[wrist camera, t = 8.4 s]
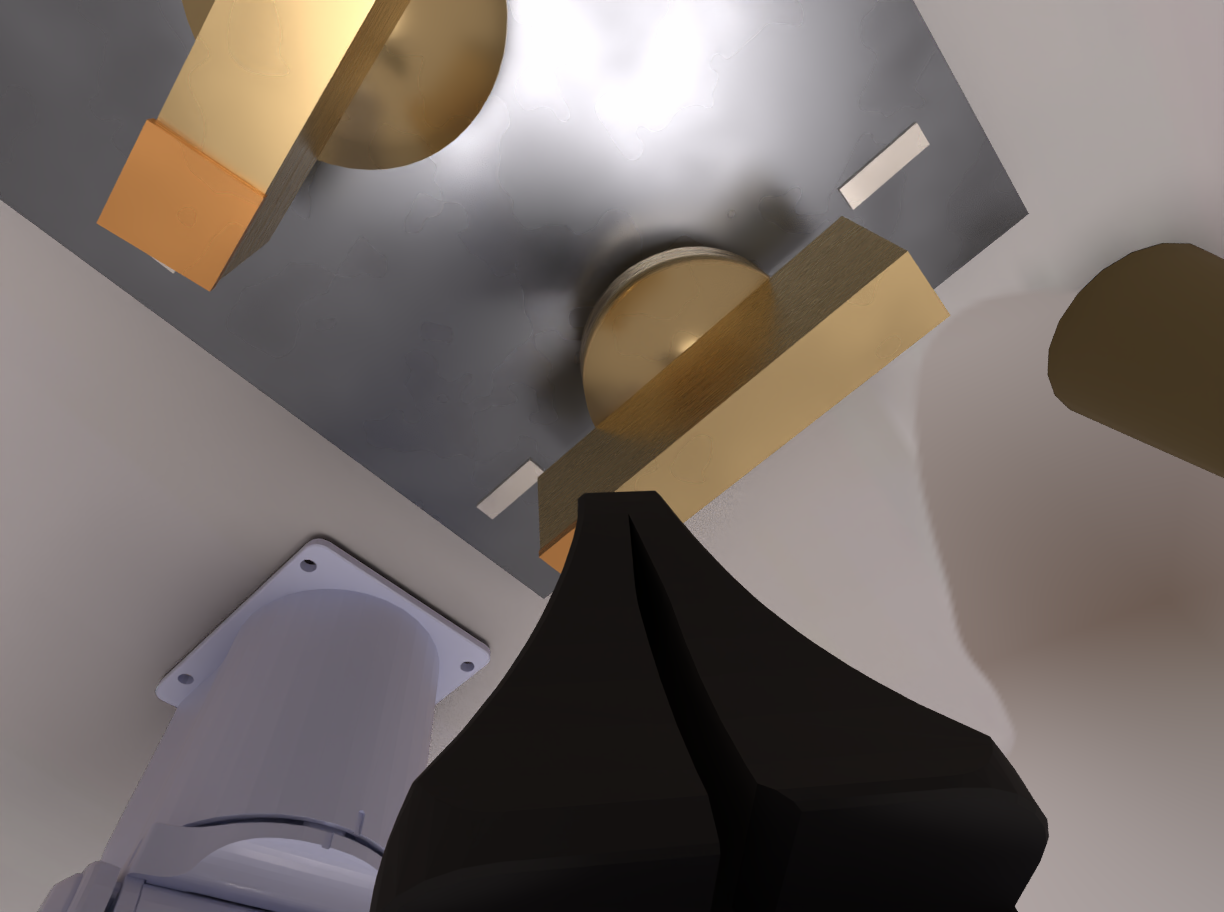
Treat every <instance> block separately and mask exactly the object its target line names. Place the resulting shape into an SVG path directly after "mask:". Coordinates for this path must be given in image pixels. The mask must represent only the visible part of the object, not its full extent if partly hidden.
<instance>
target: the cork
mask: <svg viewBox="0 0 1224 912" xmlns="http://www.w3.org/2000/svg"><path fill="white" fill-rule="evenodd" d="M1048 377H1049V380H1050V383H1051V386H1052V388H1053V391H1054V394H1055V396H1056V397H1057V398H1058V399H1059V400H1060V401H1061V402H1063V404H1064V405H1065V406H1067V407H1068V408H1069V409H1070V410H1072V411H1074V412H1076V413H1079V414H1081V415H1083V416H1085V417H1087V418H1090V419H1092V420H1094V421H1097V422H1099V423H1101V424H1103V425H1106V426H1108V427H1110V428H1112V429H1114V430H1117V431H1119V432H1121V433H1123V434H1126V435H1128V436H1130V437H1133V438H1135V439H1137V440H1139V441H1142V442H1144V443H1146V444H1148V445H1151V446H1153V447H1155V448H1158V449H1159V450H1162V451H1164V452H1166V453H1169V454H1171V455H1173V456H1175V457H1178V458H1180V459H1182V460H1184V461H1187V462H1189V463H1191V464H1193V465H1196V466H1198V467H1200V468H1202V469H1205V470H1207V471H1209V472H1211V473H1214V474H1216V475H1218V476H1221V477H1223V478H1224V259H1222V258H1220V257H1218V256H1216V255H1214V254H1212V253H1210V252H1208V251H1205V250H1203V249H1201V248H1199V247H1197V246H1194V245H1192V244H1179V243H1162V244H1159V245H1155V246H1152V247H1149V248H1145V249H1142V250H1139V251H1136V252H1132V253H1131V254H1129V255H1127V256H1126V257H1124V258H1122V259H1121V260H1119V261H1117V262H1116V263H1114V264H1112V265H1111V266H1109V267H1107V268H1106V269H1104V270H1102V271H1101V272H1100V273H1099V274H1098V275H1097V276H1096V277H1095V278H1094V279H1093V280H1092V281H1091V282H1090V283H1089V284H1088V285H1087V286H1086V287H1085V288H1083V289H1082V290H1081V291H1080V292H1079V293H1078V294H1077V296H1076V297H1075V299H1074V300H1073V301H1072V303H1071V304H1070V306H1069V308H1068V309H1067V310H1066V312H1065V313H1064V315H1063V316H1062V318H1061V319H1060V321H1059V323H1058V325H1057V328H1056V331H1055V334H1054V336H1053V339H1052V342H1051V345H1050V348H1049V355H1048Z"/></svg>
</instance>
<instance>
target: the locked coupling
mask: <svg viewBox="0 0 1224 912" xmlns="http://www.w3.org/2000/svg"><path fill="white" fill-rule="evenodd" d="M949 316H950V314H949V313H948V311H947V310H946V308H945V307H944V305H943V304H942V302H941V301H940V299H939V297H938V296H937V294H936V293H935V291H934V290H933V288H932V287H931V285H930V284H929V282H928V281H927V279H926V278H925V276H924V275H923V273H922V272H921V270H920V269H919V267H918V266H917V264H916V263H915V261H914V260H913V258H912V257H911V255H910V254H909V252H908V251H907V250H905V249H903V248H901V247H899V246H897V245H896V244H894V243H892V242H890V241H888V240H886V239H884V238H883V237H881V236H879V235H877V234H875V233H873V232H871V231H869V230H868V229H866V228H864V227H862V226H860V225H858V224H856V223H854V222H853V221H851V220H849V219H847V218H845V217H843V216H841V217H840V218H839V219H837V220H836V221H835V222H834V223H833V224H832V225H830V226H829V227H828V228H827V229H826V230H825V231H823V232H822V233H821V234H820V235H819V236H818V237H816V238H815V239H814V240H813V241H812V242H811V243H810V244H808V245H807V246H806V247H805V248H804V249H803V250H801V251H800V252H799V253H798V254H797V255H796V256H794V257H793V258H792V259H791V260H790V261H789V262H787V263H786V264H785V265H784V266H783V267H782V268H780V269H779V270H778V271H777V272H776V273H775V274H773V275H772V276H771V277H770V276H769V275H768V274H766V273H765V272H764V271H763V270H762V269H760V268H759V267H758V266H757V265H755V264H754V263H752V262H751V261H749V260H747V259H746V258H744V257H742V256H739V255H737V254H734V253H732V252H729V251H726V250H721V249H717V248H710V247H683V248H677V249H671V250H667V251H664V252H661V253H658V254H655V255H653V256H650V257H648V258H646V259H644V260H642V261H640V262H638V263H637V264H635V265H634V266H632V267H630V268H629V269H627V270H626V271H625V272H624V273H622V274H621V275H620V276H619V277H618V278H616V279H615V280H614V281H613V282H612V283H611V285H610V286H609V287H608V288H607V289H606V290H605V291H604V292H603V294H602V295H601V297H600V298H599V299H598V301H597V302H596V304H595V306H594V308H593V309H592V311H591V313H590V315H589V317H588V320H587V323H586V325H585V328H584V331H583V336H582V340H581V347H580V371H581V376H582V382H583V387H584V393H585V398H586V404H587V408H588V411H589V414H590V417H591V420H592V422H593V424H594V426H595V428H594V429H593V430H592V431H591V432H590V433H589V434H587V435H586V436H585V437H584V438H583V439H582V440H580V441H579V442H578V443H577V444H576V445H575V446H574V447H572V448H571V449H570V450H569V451H568V452H567V453H565V454H564V455H563V456H562V457H561V458H560V459H558V460H557V461H556V462H555V463H554V464H553V465H551V466H550V467H549V468H548V469H547V470H546V471H544V472H543V473H542V474H541V475H540V476H539V477H537V480H538V506H539V532H540V550H539V558H541V559H542V560H543V561H545V562H546V563H547V564H549V565H550V566H551V567H552V568H554V569H555V570H556V571H558V572H559V573H560V574H561V572H562V570H563V567H564V564H565V561H566V558H567V555H568V552H569V549H570V546H571V543H572V540H573V536H574V532H575V528H576V523H577V517H578V498H579V497H580V496H581V495H583V494H584V493H597V492H626V491H656V492H657V493H658V494H660V495H661V497H662V498H663V499H664V500H665V502H666V503H667V504H668V505H669V507H670V508H671V509H672V510H673V512H674V513H675V514H676V515H677V516H678V518H679V519H680V520H681V521H682V523H684V522H685V521H686V520H688V519H689V518H690V517H692V516H693V515H694V514H695V513H697V512H698V511H699V510H701V509H702V508H703V507H704V506H706V505H707V504H708V503H710V502H711V501H712V500H713V499H715V498H716V497H717V496H719V495H720V494H721V493H722V492H724V491H725V490H726V489H728V488H729V487H730V486H731V485H733V484H734V483H735V482H737V481H738V480H739V479H740V478H742V477H743V476H744V475H746V474H747V473H748V472H749V471H751V470H752V469H753V468H755V467H756V466H757V465H759V464H760V463H761V462H762V461H764V460H765V459H766V458H768V457H769V456H770V455H771V454H773V453H774V452H775V451H777V450H778V449H779V448H780V447H782V446H783V445H784V444H786V443H787V442H788V441H789V440H791V439H792V438H793V437H795V436H796V435H797V434H798V433H800V432H801V431H802V430H804V429H805V428H806V427H807V426H809V425H810V424H811V423H813V422H814V421H815V420H816V419H818V418H819V417H820V416H822V415H823V414H824V413H825V412H827V411H828V410H829V409H831V408H832V407H833V406H834V405H836V404H837V403H838V402H840V401H841V400H842V399H843V398H845V397H846V396H847V395H849V394H850V393H851V392H852V391H854V390H855V389H856V388H858V387H859V386H860V385H861V384H863V383H864V382H865V381H867V380H868V379H869V378H870V377H872V376H873V375H874V374H876V373H877V372H878V371H879V370H881V369H882V368H883V367H885V366H886V365H887V364H888V363H890V362H891V361H892V360H894V359H895V358H896V357H897V356H899V355H900V354H901V353H903V352H904V351H905V350H906V349H908V348H909V347H910V346H912V345H913V344H914V343H915V342H917V341H918V340H919V339H921V338H922V337H923V336H924V335H926V334H927V333H928V332H930V331H931V330H932V329H933V328H935V327H936V326H937V325H939V324H940V323H941V322H942V321H944V320H945V319H946V318H948V317H949Z"/></svg>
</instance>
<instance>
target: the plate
mask: <svg viewBox="0 0 1224 912" xmlns="http://www.w3.org/2000/svg"><path fill="white" fill-rule="evenodd" d="M507 9H508V25H507V39H506V46H505V54H504V57H503V61H502V65H501V69H500V72H499V75H498V77H497V80H496V82H495V85H494V87H493V90H492V92H491V93H490V95H489V97H488V99H487V100H486V102H485V104H484V106H483V107H482V109H481V111H480V112H479V113H478V115H477V116H476V117H475V119H474V120H473V121H472V123H471V124H470V125H469V126H468V128H467V129H466V130H465V131H464V132H462V133H461V134H460V135H459V136H458V137H457V138H456V139H455V140H454V141H453V142H451V143H450V144H449V145H447V146H446V147H445V148H443V149H442V150H440V151H439V152H437V153H435V154H433V155H431V156H429V157H427V158H425V159H424V160H421V161H418V162H415V163H412V164H409V165H406V166H401V167H396V168H391V169H381V170H362V169H350V168H345V167H341V166H336V165H331V164H328V163H325V162H322V161H319V160H316V162H315V164H314V165H313V167H312V169H311V171H310V172H309V174H308V176H307V177H306V179H305V181H304V182H303V184H302V186H301V188H300V189H299V191H298V193H297V194H296V196H295V198H294V199H293V201H292V203H291V204H290V206H289V208H288V210H287V211H286V213H285V215H284V216H283V218H282V220H281V221H280V223H279V225H278V226H277V228H276V230H275V232H274V233H273V235H272V237H271V238H270V240H269V242H268V243H267V244H265V245H264V246H263V247H261V248H260V249H259V250H258V251H256V252H255V253H254V254H252V255H251V256H250V257H249V258H247V259H246V260H245V261H244V262H242V263H241V264H240V265H238V266H237V267H236V268H235V269H233V270H232V271H231V272H230V273H228V274H227V275H226V276H224V277H223V278H222V279H221V280H219V282H218V283H217V285H216V287H215V288H214V289H213V290H212V291H210V292H209V291H208V290H206V289H204V288H203V287H201V286H200V285H198V284H196V283H195V282H193V281H191V280H190V279H188V278H186V277H185V276H183V275H181V274H180V273H178V272H176V271H175V270H173V269H171V268H170V267H168V266H166V265H165V264H163V263H161V262H160V261H158V260H156V259H155V258H153V257H151V256H150V255H148V254H147V253H145V252H143V251H142V250H140V249H138V248H137V247H135V246H133V245H132V244H130V243H128V242H127V241H125V240H123V239H122V238H120V237H118V236H117V235H115V234H113V233H112V232H110V231H108V230H107V229H105V228H103V227H102V226H100V225H98V224H97V221H98V219H99V217H100V215H101V213H102V211H103V208H104V206H105V204H106V202H107V200H108V198H109V196H110V194H111V192H112V190H113V188H114V186H115V184H116V182H117V180H118V178H119V176H120V174H121V171H122V169H123V167H124V165H125V163H126V161H127V159H128V157H129V155H130V153H131V151H132V149H133V147H134V145H135V143H136V141H137V139H138V137H139V135H140V132H141V130H142V128H143V126H144V124H145V122H146V120H147V119H152V118H154V119H156V120H157V118H158V116H159V114H160V112H161V110H162V108H163V106H164V104H165V102H166V100H167V98H168V96H169V94H170V91H171V89H172V87H173V85H174V83H175V81H176V79H177V77H178V75H179V73H180V71H181V69H182V67H183V65H184V63H185V61H186V59H187V57H188V55H189V53H190V51H191V49H192V47H193V45H194V43H195V41H196V40H195V38H194V35H193V33H192V30H191V28H190V25H189V23H188V20H187V17H186V14H185V10H184V7H183V3H182V0H0V200H2V201H3V202H4V203H6V204H7V205H9V206H10V207H11V208H13V209H14V210H15V211H17V212H18V213H19V214H21V215H22V216H24V217H25V218H26V219H28V220H29V221H30V222H32V223H33V224H34V225H36V226H37V227H39V228H40V229H41V230H43V231H44V232H45V233H47V234H48V235H49V236H51V237H52V238H53V239H55V240H56V241H58V242H59V243H60V244H62V245H63V246H64V247H66V248H67V249H68V250H70V251H71V252H73V253H74V254H75V255H77V256H78V257H79V258H81V259H82V260H83V261H85V262H86V263H87V264H89V265H90V266H92V267H93V268H94V269H96V270H97V271H98V272H100V273H101V274H102V275H104V276H105V277H107V278H108V279H109V280H111V281H112V282H113V283H115V284H116V285H117V286H119V287H120V288H122V289H123V290H124V291H126V292H127V293H128V294H130V295H131V296H132V297H134V298H135V299H136V300H138V301H139V302H141V303H142V304H143V305H145V306H146V307H147V308H149V309H150V310H151V311H153V312H154V313H156V314H157V315H158V316H160V317H161V318H162V319H164V320H165V321H166V322H168V323H169V324H171V325H172V326H173V327H175V328H176V329H177V330H179V331H180V332H181V333H183V334H184V335H185V336H187V337H188V338H190V339H191V340H192V341H194V342H195V343H196V344H198V345H199V346H200V347H202V348H203V349H205V350H206V351H207V352H209V353H210V354H211V355H213V356H214V357H215V358H217V359H218V360H220V361H221V362H222V363H224V364H225V365H226V366H228V367H229V368H230V369H232V370H233V371H234V372H236V373H237V374H239V375H240V376H241V377H243V378H244V379H245V380H247V381H248V382H249V383H251V384H252V385H254V386H255V387H256V388H258V389H259V390H260V391H262V392H263V393H264V394H266V395H267V396H269V397H270V398H271V399H273V400H274V401H275V402H277V403H278V404H279V405H281V406H282V407H283V408H285V409H286V410H288V411H289V412H290V413H292V414H293V415H294V416H296V417H297V418H298V419H300V420H301V421H303V422H304V423H305V424H307V425H308V426H309V427H311V428H312V429H313V430H315V431H316V432H318V433H319V434H320V435H322V436H323V437H324V438H326V439H327V440H328V441H330V442H331V443H332V444H334V445H335V446H337V447H338V448H339V449H341V450H342V451H343V452H345V453H346V454H347V455H349V456H350V457H352V458H353V459H354V460H356V461H357V462H358V463H360V464H361V465H362V466H364V467H365V468H367V469H368V470H369V471H371V472H372V473H373V474H375V475H376V476H377V477H379V478H380V479H381V480H383V481H384V482H386V483H387V484H388V485H390V486H391V487H392V488H394V489H395V490H396V491H398V492H399V493H401V494H402V495H403V496H405V497H406V498H407V499H409V500H410V501H411V502H413V503H414V504H415V505H417V506H418V507H420V508H421V509H422V510H424V511H425V512H426V513H428V514H429V515H430V516H432V517H433V518H435V519H436V520H437V521H439V522H440V523H441V524H443V525H444V526H445V527H447V528H448V529H450V530H451V531H452V532H454V533H455V534H456V535H458V536H459V537H460V538H462V539H463V540H464V541H466V542H467V543H469V544H470V545H471V546H473V547H474V548H475V549H477V550H478V551H479V552H481V553H482V554H484V555H485V556H486V557H488V558H489V559H490V560H492V561H493V562H494V563H496V564H497V565H499V566H500V567H501V568H503V569H504V570H505V571H507V572H508V573H509V574H511V575H512V576H513V577H515V578H516V579H518V580H519V581H520V582H522V583H523V584H524V585H526V586H527V587H528V588H530V589H531V590H533V591H534V592H535V593H537V594H538V595H539V596H541V597H542V598H543V599H544V598H546V597H547V596H548V595H549V594H551V593H552V592H553V591H554V588H555V586H556V584H557V581H558V579H559V577H560V575H561V574H560V573H559V572H558V571H556V570H555V569H554V568H552V567H551V566H550V565H549V564H547V563H546V562H545V561H543V560H542V559H541V558H539V550H540V532H539V506H538V480H537V477H539V476H540V475H541V474H542V473H543V472H544V471H546V470H547V469H548V468H549V467H550V466H551V465H553V464H554V463H555V462H556V461H557V460H558V459H560V458H561V457H562V456H563V455H564V454H565V453H567V452H568V451H569V450H570V449H571V448H572V447H574V446H575V445H576V444H577V443H578V442H579V441H580V440H582V439H583V438H584V437H585V436H586V435H587V434H589V433H590V432H591V431H592V430H593V429H594V428H595V426H594V424H593V422H592V420H591V417H590V414H589V411H588V408H587V404H586V398H585V393H584V387H583V382H582V376H581V371H580V347H581V340H582V336H583V331H584V328H585V325H586V323H587V320H588V317H589V315H590V313H591V311H592V309H593V308H594V306H595V304H596V302H597V301H598V299H599V298H600V297H601V295H602V294H603V292H604V291H605V290H606V289H607V288H608V287H609V286H610V285H611V283H612V282H613V281H614V280H615V279H616V278H618V277H619V276H620V275H621V274H622V273H624V272H625V271H626V270H627V269H629V268H630V267H632V266H634V265H635V264H637V263H638V262H640V261H642V260H644V259H646V258H648V257H650V256H653V255H655V254H658V253H661V252H664V251H667V250H671V249H677V248H683V247H710V248H717V249H721V250H726V251H729V252H732V253H734V254H737V255H739V256H742V257H744V258H746V259H747V260H749V261H751V262H752V263H754V264H755V265H757V266H758V267H759V268H760V269H762V270H763V271H764V272H765V273H766V274H768V275H769V276H770V277H771V276H772V275H773V274H775V273H776V272H777V271H778V270H779V269H780V268H782V267H783V266H784V265H785V264H786V263H787V262H789V261H790V260H791V259H792V258H793V257H794V256H796V255H797V254H798V253H799V252H800V251H801V250H803V249H804V248H805V247H806V246H807V245H808V244H810V243H811V242H812V241H813V240H814V239H815V238H816V237H818V236H819V235H820V234H821V233H822V232H823V231H825V230H826V229H827V228H828V227H829V226H830V225H832V224H833V223H834V222H835V221H836V220H837V219H839V218H840V217H841V216H843V217H845V218H847V219H849V220H851V221H853V222H854V223H856V224H858V225H860V226H862V227H864V228H866V229H868V230H869V231H871V232H873V233H875V234H877V235H879V236H881V237H883V238H884V239H886V240H888V241H890V242H892V243H894V244H896V245H897V246H899V247H901V248H903V249H905V250H907V251H908V252H909V254H910V255H911V257H912V258H913V260H914V261H915V263H916V264H917V266H918V267H919V269H920V270H921V272H922V273H923V275H924V276H925V278H926V279H927V281H928V282H929V284H930V285H931V287H932V288H933V289H935V288H936V287H937V286H938V285H940V284H941V283H942V282H943V281H945V280H946V279H947V278H948V277H950V276H951V275H952V274H953V273H955V272H956V271H957V270H958V269H960V268H961V267H962V266H964V265H965V264H966V263H967V262H969V261H970V260H971V259H972V258H974V257H975V256H976V255H977V254H979V253H980V252H981V251H982V250H984V249H985V248H986V247H987V246H989V245H990V244H991V243H992V242H994V241H995V240H996V239H998V238H999V237H1000V236H1001V235H1003V234H1004V233H1005V232H1006V231H1008V230H1009V229H1010V228H1011V227H1013V226H1014V225H1015V224H1016V223H1018V222H1019V221H1020V220H1021V219H1023V218H1024V217H1025V216H1026V215H1028V214H1029V213H1028V211H1027V210H1026V208H1025V206H1024V204H1023V202H1022V200H1021V199H1020V197H1019V195H1018V193H1017V191H1016V189H1015V187H1014V186H1013V184H1012V182H1011V180H1010V178H1009V176H1008V175H1007V173H1006V171H1005V169H1004V167H1003V165H1002V164H1001V162H1000V160H999V158H998V156H997V154H996V152H995V151H994V149H993V147H992V145H991V143H990V141H989V140H988V138H987V136H986V134H985V132H984V130H983V128H982V127H981V125H980V123H979V121H978V119H977V117H976V116H975V114H974V112H973V110H972V108H971V106H970V104H969V103H968V101H967V99H966V97H965V95H964V93H963V92H962V90H961V88H960V86H959V84H958V82H957V80H956V79H955V77H954V75H953V73H952V71H951V69H950V68H949V66H948V64H947V62H946V60H945V58H944V56H943V55H942V53H941V51H940V49H939V47H938V45H937V44H936V42H935V40H934V38H933V36H932V34H931V32H930V31H929V29H928V27H927V25H926V23H925V21H924V20H923V18H922V16H921V14H920V12H919V10H918V9H917V7H916V5H915V3H914V1H913V0H507Z"/></svg>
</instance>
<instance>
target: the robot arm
mask: <svg viewBox="0 0 1224 912" xmlns="http://www.w3.org/2000/svg"><path fill="white" fill-rule="evenodd" d="M304 560H312V561H314V562H315V563H316V564H315V565H310V564H307V563H306V562H305V561H304ZM489 661H490V649H489V648H488V647H487V646H486V645H485V644H484V643H482V642H481V641H479V640H478V639H476V638H475V637H473V636H471V635H470V634H468V633H467V632H465V631H464V630H462V629H461V628H459V627H458V626H456V625H455V624H453V623H452V622H450V621H449V620H447V619H446V618H444V617H443V616H441V615H440V614H438V613H437V612H435V611H434V610H432V609H431V608H429V607H428V606H426V605H425V604H423V603H422V602H420V601H419V600H417V599H416V598H414V597H413V596H411V595H409V594H408V593H406V592H405V591H403V590H402V589H400V588H399V587H397V586H396V585H394V584H393V583H391V582H390V581H388V580H387V579H385V578H384V577H382V576H381V575H379V574H378V573H376V572H375V571H373V570H372V569H370V568H369V567H367V566H366V565H364V564H363V563H361V562H360V561H358V560H357V559H355V558H354V557H352V556H351V555H349V554H348V553H346V552H344V551H343V550H341V549H340V548H338V547H337V546H335V545H334V544H332V543H331V542H329V541H327V540H325V539H313V540H311V541H309V542H308V543H307V544H305V545H304V546H303V547H302V548H301V549H300V550H299V551H298V552H297V553H296V554H295V555H294V556H293V557H292V558H291V559H289V560H288V561H287V562H286V563H285V564H284V565H283V566H282V567H281V568H280V569H279V570H278V571H277V572H276V573H275V574H274V575H272V576H271V577H270V578H269V579H268V580H267V581H266V582H265V583H264V584H263V585H262V586H261V587H260V588H259V589H258V590H256V591H255V592H254V593H253V594H252V595H251V596H250V597H249V598H248V599H247V600H246V601H245V602H244V603H243V604H242V605H240V606H239V607H238V608H237V609H236V610H235V611H234V612H233V613H232V614H231V615H230V616H229V617H228V618H227V619H226V620H225V621H223V622H222V623H221V624H220V625H219V626H218V627H217V628H216V629H215V630H214V631H213V632H212V633H211V634H210V635H209V636H207V637H206V638H205V639H204V640H203V641H202V642H201V643H200V644H199V645H198V646H197V647H196V648H195V649H194V650H193V651H192V652H190V653H189V654H188V655H187V656H186V657H185V658H184V659H183V660H182V661H181V662H180V663H179V664H178V665H177V666H176V667H174V668H173V669H172V670H171V671H170V672H169V673H168V674H167V675H166V676H165V677H164V678H163V679H162V680H161V681H160V683H159V684H158V686H157V688H156V690H155V692H156V695H157V696H158V698H159V699H161V700H162V701H164V702H166V703H168V704H171V705H173V706H175V707H177V710H176V712H175V713H174V715H173V717H172V719H171V721H170V723H169V725H168V727H167V729H166V731H165V733H164V735H163V737H162V739H161V741H160V742H159V744H158V746H157V748H156V750H155V752H154V754H153V756H152V758H151V760H150V762H149V764H148V766H147V768H146V770H145V771H144V773H143V775H142V777H141V779H140V781H139V783H138V785H137V787H136V789H135V791H134V793H133V795H132V797H131V799H130V800H129V802H128V804H127V806H126V808H125V810H124V812H123V814H122V816H121V818H120V820H119V822H118V824H117V826H116V828H115V829H114V831H113V833H112V835H111V837H110V839H109V841H108V843H107V845H106V847H105V850H104V852H103V855H102V857H101V860H100V861H95V862H93V863H91V864H89V865H88V866H87V867H86V868H85V870H84V871H83V872H82V873H77V874H74V875H72V876H70V877H68V878H66V879H65V880H63V881H61V882H59V883H57V884H55V885H54V886H53V888H52V889H51V890H50V892H49V893H48V895H47V897H46V898H45V900H44V901H43V903H42V905H41V906H40V908H39V910H38V911H37V912H1018V911H1017V910H1016V908H1015V905H1016V903H1017V901H1018V899H1019V897H1020V896H1021V894H1022V892H1023V891H1024V889H1025V887H1026V885H1027V884H1028V882H1029V880H1030V878H1031V877H1032V875H1033V873H1034V872H1035V870H1036V868H1037V866H1038V864H1039V863H1040V861H1041V858H1042V855H1043V853H1044V849H1045V847H1046V844H1047V841H1048V837H1049V834H1048V823H1047V818H1046V817H1045V815H1044V814H1043V812H1042V811H1041V809H1040V808H1039V806H1038V805H1037V803H1036V802H1035V800H1034V799H1033V797H1032V796H1031V794H1030V792H1029V791H1028V789H1027V788H1026V786H1025V784H1024V783H1023V781H1022V780H1021V778H1020V777H1019V775H1018V774H1017V772H1016V770H1015V769H1014V768H1013V766H1012V765H1011V764H1010V762H1009V761H1008V760H1007V758H1006V757H1005V756H1004V754H1003V753H1002V752H1001V750H1000V749H999V748H998V746H997V745H996V744H995V743H994V741H993V740H992V739H991V737H990V736H988V735H985V734H983V733H981V732H979V731H977V730H974V729H972V728H970V727H968V726H966V725H964V724H961V723H959V722H957V721H955V720H953V719H950V718H948V717H946V716H944V715H942V714H939V713H937V712H935V711H933V710H931V709H929V708H926V707H924V706H922V705H920V704H918V703H916V702H914V701H912V700H910V699H908V698H906V697H904V696H903V695H901V694H899V693H897V692H895V691H893V690H891V689H890V688H888V687H886V686H884V685H882V684H880V683H878V682H877V681H875V680H873V679H871V678H869V677H868V676H866V675H864V674H863V673H861V672H859V671H858V670H856V669H854V668H852V667H851V666H849V665H847V664H846V663H844V662H843V661H841V660H840V659H838V658H837V657H835V656H834V655H832V654H830V653H829V652H827V651H826V650H824V649H823V648H821V647H820V646H818V645H817V644H815V643H814V642H812V641H811V640H809V639H808V638H806V637H805V636H804V635H802V634H801V633H799V632H798V631H797V630H795V629H794V628H793V627H791V626H790V625H789V624H787V623H786V622H785V621H784V620H782V619H781V618H780V617H778V616H777V615H776V614H775V613H773V612H772V611H771V610H769V609H768V608H767V607H766V606H764V605H763V604H762V603H761V602H760V601H758V600H757V599H756V598H755V597H754V596H753V595H752V594H751V593H749V592H748V591H747V590H746V589H745V588H744V587H743V586H742V585H741V584H740V583H739V582H738V581H737V580H736V579H734V578H733V577H732V576H731V575H730V574H729V573H728V572H727V571H726V570H725V569H724V568H723V567H722V566H721V565H720V563H719V562H718V561H717V560H716V559H715V558H714V557H713V556H712V555H711V554H710V553H709V552H708V551H707V550H706V549H705V548H704V547H703V545H702V544H701V543H700V542H699V541H698V540H697V539H696V538H695V537H694V535H693V534H692V533H691V532H690V531H689V530H688V528H687V527H686V526H685V525H684V524H683V523H682V521H681V520H680V519H679V518H678V516H677V515H676V514H675V513H674V512H673V510H672V509H671V508H670V507H669V505H668V504H667V503H666V502H665V500H664V499H663V498H662V497H661V495H660V494H658V493H657V492H656V491H626V492H597V493H584V494H583V495H581V496H580V497H579V498H578V517H577V523H576V528H575V532H574V536H573V540H572V543H571V546H570V549H569V552H568V555H567V558H566V561H565V564H564V567H563V570H562V572H561V575H560V577H559V579H558V581H557V584H556V586H555V588H554V591H553V593H552V595H551V597H550V600H549V602H548V604H547V606H546V608H545V610H544V612H543V614H542V616H541V618H540V620H539V622H538V623H537V625H536V627H535V629H534V631H533V632H532V634H531V636H530V638H529V639H528V641H527V643H526V644H525V646H524V647H523V649H522V651H521V652H520V654H519V655H518V657H517V658H516V660H515V661H514V663H513V664H512V666H511V668H510V669H509V671H508V672H507V673H506V675H505V676H504V678H503V679H502V681H501V682H500V683H499V685H498V686H497V687H496V689H495V690H494V691H493V693H492V694H491V695H490V696H489V698H488V699H487V700H486V701H485V703H484V704H483V705H482V706H481V708H480V709H479V710H478V711H477V713H476V714H475V715H474V716H473V718H472V719H471V720H470V721H469V723H468V724H467V725H466V726H465V727H464V729H463V730H462V731H461V732H460V733H459V734H458V735H457V737H456V738H455V739H454V740H453V741H452V742H451V743H450V744H449V745H448V746H447V747H446V748H445V749H444V750H443V751H442V752H441V753H440V754H439V755H438V756H437V757H436V758H435V760H434V761H433V762H432V763H431V764H430V765H429V766H428V767H427V763H428V755H429V747H430V739H431V732H432V724H433V716H434V709H435V705H436V704H437V703H438V702H440V701H441V700H442V699H443V698H445V697H446V696H447V695H449V694H450V693H451V692H452V691H454V690H455V689H456V688H458V687H459V686H460V685H461V684H463V683H464V682H465V681H466V680H468V679H469V678H470V677H472V676H473V675H474V674H475V673H477V672H478V671H479V670H480V669H482V668H483V667H484V666H486V665H487V664H488V662H489ZM463 662H472V663H470V664H466V663H463ZM186 674H188V675H191V676H188V675H186Z"/></svg>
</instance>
